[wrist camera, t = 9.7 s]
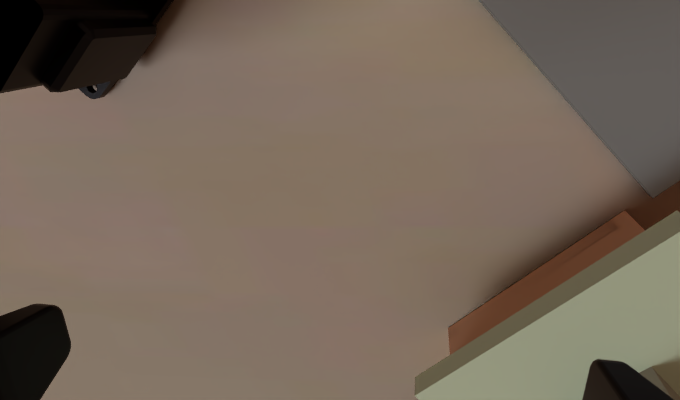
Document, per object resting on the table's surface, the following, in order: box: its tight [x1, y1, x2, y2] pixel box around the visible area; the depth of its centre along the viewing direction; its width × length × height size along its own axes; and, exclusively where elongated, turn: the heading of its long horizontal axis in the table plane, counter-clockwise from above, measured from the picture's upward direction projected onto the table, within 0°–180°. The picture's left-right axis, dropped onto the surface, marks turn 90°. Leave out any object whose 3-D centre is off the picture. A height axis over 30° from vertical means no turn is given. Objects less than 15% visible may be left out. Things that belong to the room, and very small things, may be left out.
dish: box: [448, 210, 645, 355], centre depth 19 cm, size 9×9×4 cm
